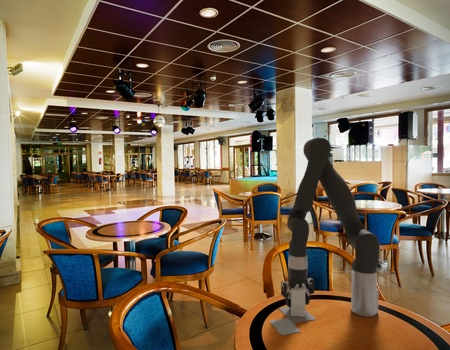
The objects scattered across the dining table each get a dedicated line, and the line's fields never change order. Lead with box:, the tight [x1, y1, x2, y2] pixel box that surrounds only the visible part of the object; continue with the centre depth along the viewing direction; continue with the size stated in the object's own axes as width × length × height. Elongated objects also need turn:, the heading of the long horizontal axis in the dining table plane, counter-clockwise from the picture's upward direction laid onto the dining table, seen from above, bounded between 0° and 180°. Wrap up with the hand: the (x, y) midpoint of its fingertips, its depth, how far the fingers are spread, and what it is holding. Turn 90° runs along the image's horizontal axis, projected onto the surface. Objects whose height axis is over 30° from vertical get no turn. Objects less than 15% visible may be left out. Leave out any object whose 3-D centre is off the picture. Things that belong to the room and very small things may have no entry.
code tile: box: [278, 306, 317, 325], centre depth 120 cm, size 10×12×1 cm
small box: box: [291, 287, 306, 317], centre depth 121 cm, size 8×6×10 cm
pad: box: [269, 317, 301, 336], centre depth 111 cm, size 8×10×1 cm
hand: (297, 305), depth 121 cm, fingers closed on small box, 7 cm apart
